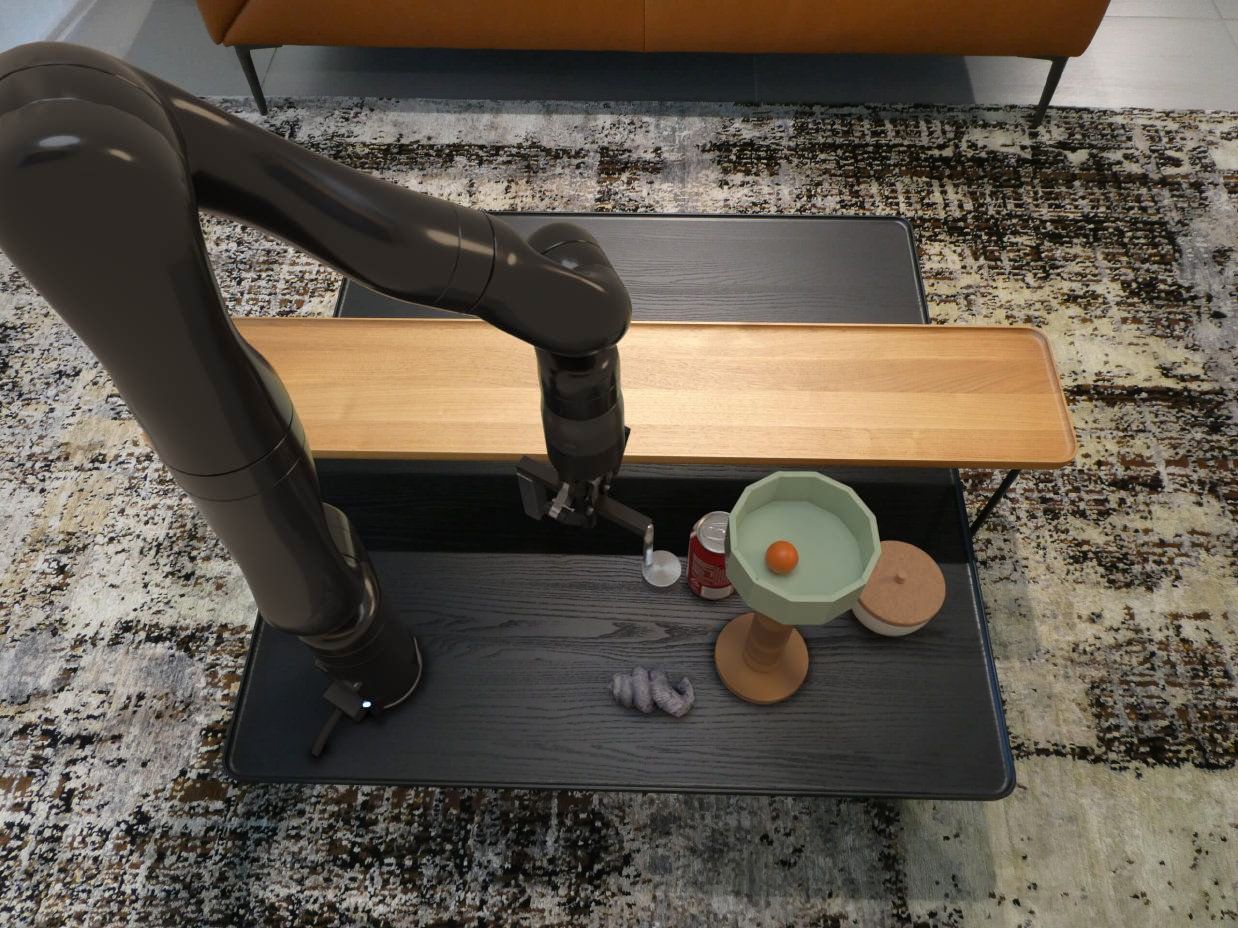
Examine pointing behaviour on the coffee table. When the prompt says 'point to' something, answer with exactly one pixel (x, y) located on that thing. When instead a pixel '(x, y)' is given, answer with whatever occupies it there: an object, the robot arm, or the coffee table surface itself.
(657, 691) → the seashell
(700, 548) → the soda can
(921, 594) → the trinket box
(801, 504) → the bowl
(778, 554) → the ball
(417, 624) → the coffee table surface
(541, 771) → the coffee table surface
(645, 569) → the ladle
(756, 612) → the stand
